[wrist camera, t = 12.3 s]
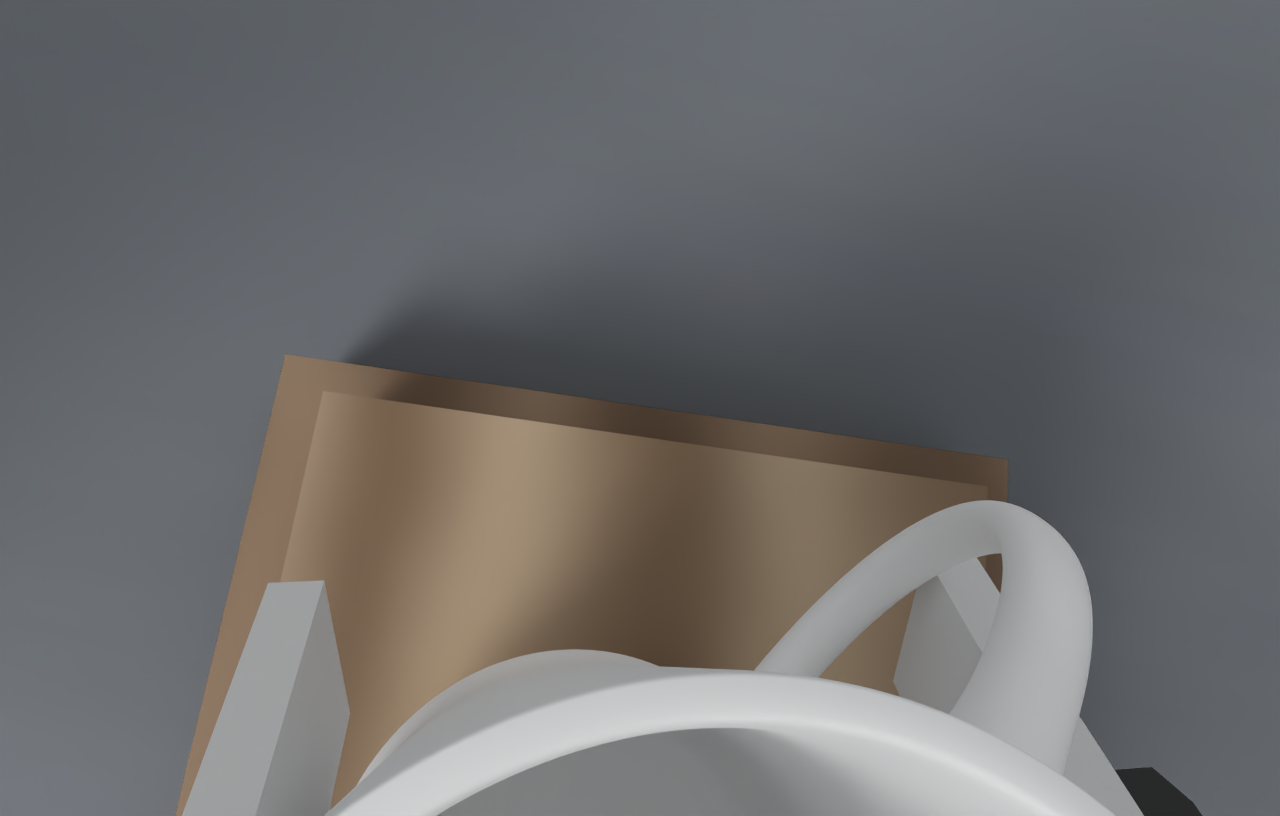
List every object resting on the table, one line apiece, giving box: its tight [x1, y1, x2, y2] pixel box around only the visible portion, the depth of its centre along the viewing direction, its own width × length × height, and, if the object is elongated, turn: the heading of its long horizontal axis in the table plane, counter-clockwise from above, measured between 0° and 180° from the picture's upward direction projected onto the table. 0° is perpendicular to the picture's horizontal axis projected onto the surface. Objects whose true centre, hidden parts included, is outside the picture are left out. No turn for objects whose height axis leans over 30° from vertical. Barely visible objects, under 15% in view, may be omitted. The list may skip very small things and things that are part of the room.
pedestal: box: [175, 354, 1008, 816], centre depth 21 cm, size 19×18×6 cm
